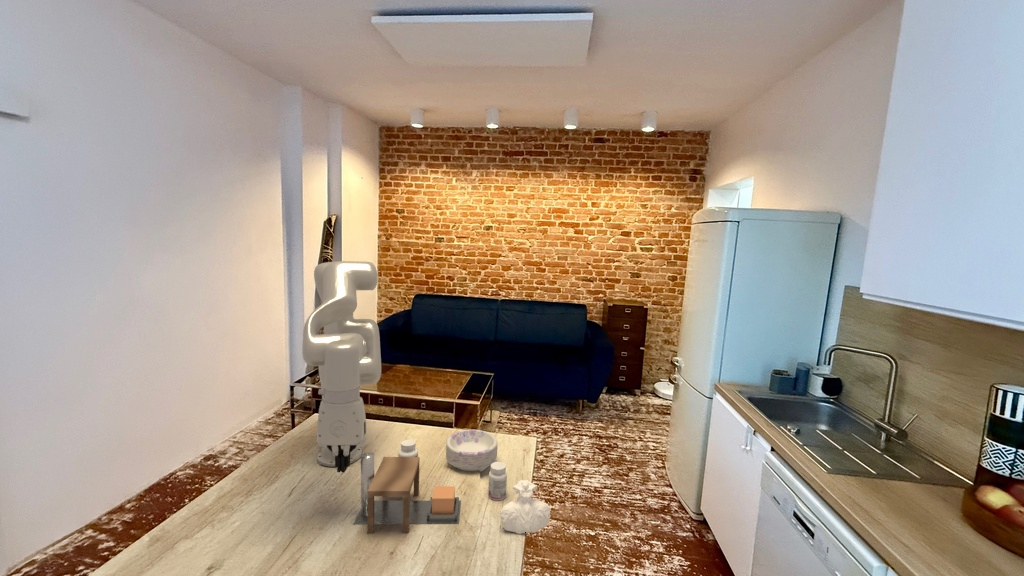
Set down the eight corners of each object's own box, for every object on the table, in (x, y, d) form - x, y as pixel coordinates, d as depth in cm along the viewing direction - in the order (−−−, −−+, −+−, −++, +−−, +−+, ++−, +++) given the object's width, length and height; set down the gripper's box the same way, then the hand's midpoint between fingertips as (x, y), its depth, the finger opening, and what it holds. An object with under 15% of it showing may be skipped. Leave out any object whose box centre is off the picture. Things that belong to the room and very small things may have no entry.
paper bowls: (463, 485, 116) (464, 458, 115) (436, 462, 128) (436, 437, 127) (507, 468, 125) (508, 443, 125) (478, 448, 137) (478, 424, 136)
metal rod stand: (353, 528, 97) (353, 465, 95) (364, 504, 106) (364, 446, 104) (458, 527, 98) (460, 465, 97) (461, 504, 107) (462, 446, 106)
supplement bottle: (412, 481, 117) (413, 448, 116) (394, 478, 118) (395, 445, 117) (420, 471, 122) (421, 439, 121) (403, 469, 123) (403, 437, 122)
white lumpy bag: (548, 531, 102) (542, 480, 108) (555, 530, 95) (549, 476, 101) (498, 536, 100) (496, 483, 105) (503, 534, 93) (500, 479, 99)
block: (431, 518, 100) (432, 498, 99) (434, 505, 105) (434, 486, 104) (453, 518, 100) (453, 498, 99) (454, 505, 105) (455, 486, 104)
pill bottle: (487, 490, 114) (488, 460, 113) (505, 490, 114) (506, 460, 114) (488, 501, 109) (489, 470, 108) (506, 500, 110) (508, 470, 109)
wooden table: (328, 552, 89) (327, 502, 88) (360, 489, 112) (360, 449, 111) (468, 550, 91) (469, 502, 90) (471, 489, 114) (472, 449, 113)
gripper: (302, 399, 93) (303, 478, 95) (371, 400, 95) (371, 478, 97) (315, 388, 101) (316, 461, 103) (379, 388, 102) (378, 461, 104)
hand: (342, 469), depth 100 cm, fingers closed
